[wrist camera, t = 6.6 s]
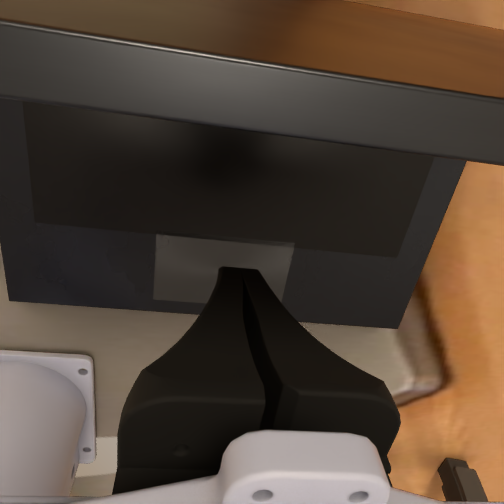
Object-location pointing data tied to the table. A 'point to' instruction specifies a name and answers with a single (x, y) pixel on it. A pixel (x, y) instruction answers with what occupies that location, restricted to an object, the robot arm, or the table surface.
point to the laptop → (210, 215)
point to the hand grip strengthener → (460, 482)
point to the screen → (266, 69)
